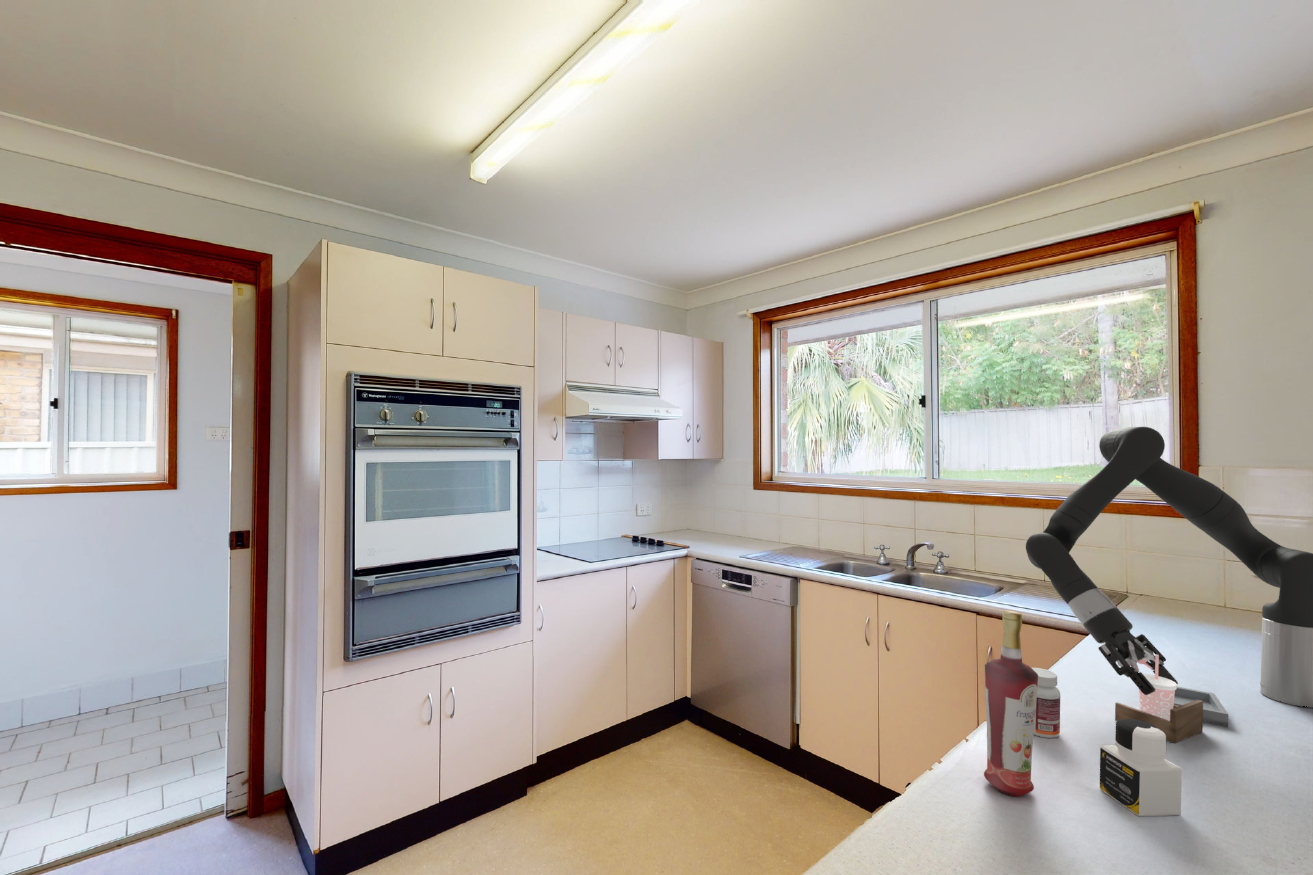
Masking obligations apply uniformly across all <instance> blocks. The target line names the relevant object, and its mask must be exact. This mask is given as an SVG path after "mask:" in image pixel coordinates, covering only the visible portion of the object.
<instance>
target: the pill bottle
mask: <svg viewBox="0 0 1313 875" xmlns="http://www.w3.org/2000/svg"><path fill="white" fill-rule="evenodd" d="M1031 668H1032V669H1033V670H1034V671H1035V672H1036V673H1037V674H1038V685H1037V700H1036V713H1035V723H1034V732H1033V736H1037V737H1039V736H1040V738H1045V739H1053V738H1058V737H1059V736H1060V733H1061V692H1060V689H1059V688H1058V687H1057V686H1058V675H1057V673H1055V672H1053V671H1051V670H1049V669H1045V668H1041V667H1031Z"/></svg>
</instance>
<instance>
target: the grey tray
mask: <svg viewBox="0 0 1313 875" xmlns="http://www.w3.org/2000/svg"><path fill="white" fill-rule="evenodd" d="M1195 700H1201V701H1203V723H1208V724H1212V725H1217V726H1222V727H1227V728H1228V727H1229V712H1227V710H1226V709H1225V707H1224V706H1223V704H1222V703H1221V701H1220V700H1219V698H1218V697H1217V695H1216V694H1215V693H1213V692H1207V691H1204V690H1198V689H1192V688H1187V687H1182V686H1177V689H1176V690H1175V695H1174V705H1177V706H1181V705H1184V704H1187V703H1190V702H1192V701H1195Z"/></svg>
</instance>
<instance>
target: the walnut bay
mask: <svg viewBox="0 0 1313 875" xmlns="http://www.w3.org/2000/svg"><path fill="white" fill-rule="evenodd" d="M1114 704H1115V708H1114V710H1115V712H1114V720H1115V722H1117V721H1118V720H1121V719H1136V720H1140V721H1144V722H1147V723H1150V724H1152V725H1154V726H1156V727H1158V728H1159V729H1161V730H1162V731H1163V732H1164V733H1165V735H1166V741H1168V742H1171V743H1173V744H1176V743H1180V742H1181V741H1184V740H1187V739H1189V738H1192V737H1194V736H1197V735H1198V734H1201V733H1203V725H1204V724H1203V723H1204V722H1203V701H1201V700H1195V701H1192V702H1190V703H1187V704H1184V705H1181V706H1177V705H1173V709H1170V721H1168V720H1166V719H1163V718H1160V717H1157V716H1155V715H1152V714H1149V713H1146V712H1143V711H1141V710H1140V709H1137V708H1135V707H1132V706H1129V705H1126V704H1124V703H1121V702H1118V701H1117V702H1115V703H1114Z"/></svg>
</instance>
